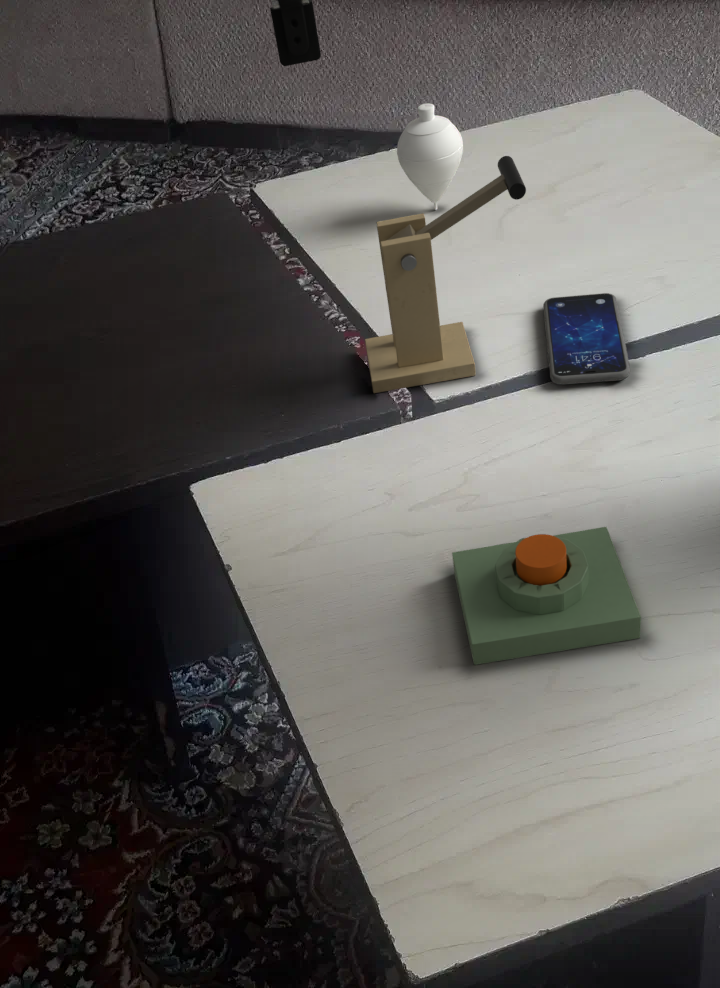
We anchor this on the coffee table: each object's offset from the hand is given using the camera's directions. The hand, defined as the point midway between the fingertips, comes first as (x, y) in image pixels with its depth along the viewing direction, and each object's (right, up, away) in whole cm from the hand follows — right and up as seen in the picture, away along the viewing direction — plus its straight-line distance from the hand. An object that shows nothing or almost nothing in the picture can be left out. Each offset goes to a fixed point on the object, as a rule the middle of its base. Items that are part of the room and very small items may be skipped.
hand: (298, 41), depth 86 cm
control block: (+19, -46, -6) cm, 50 cm away
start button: (+18, -43, -8) cm, 48 cm away
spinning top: (+14, +3, +42) cm, 45 cm away
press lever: (+14, -11, +10) cm, 20 cm away
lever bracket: (+11, -21, +20) cm, 31 cm away
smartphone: (+27, -19, +18) cm, 38 cm away
